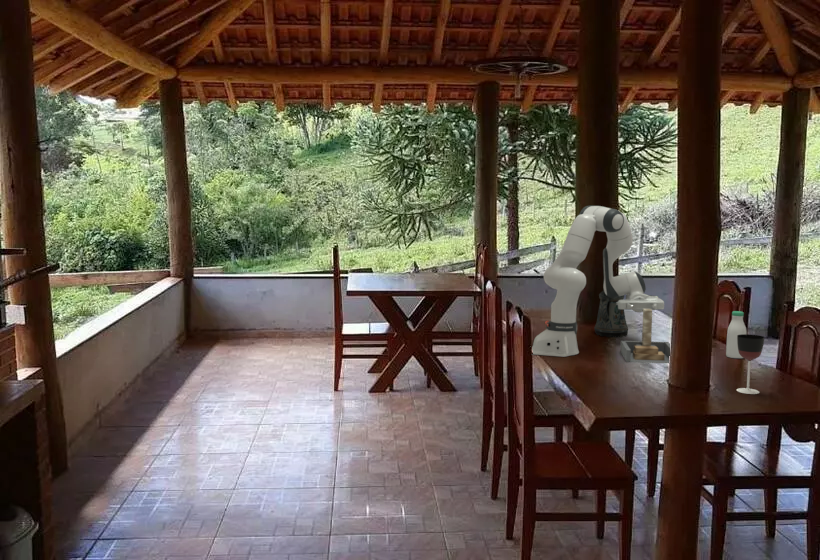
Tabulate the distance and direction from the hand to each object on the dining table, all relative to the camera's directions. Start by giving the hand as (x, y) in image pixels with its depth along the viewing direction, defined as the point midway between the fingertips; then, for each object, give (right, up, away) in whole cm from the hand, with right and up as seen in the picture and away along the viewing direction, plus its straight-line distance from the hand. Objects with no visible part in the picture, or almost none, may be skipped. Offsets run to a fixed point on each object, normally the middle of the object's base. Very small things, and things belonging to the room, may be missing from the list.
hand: (643, 307), depth 312 cm
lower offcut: (-3, -21, -17) cm, 27 cm away
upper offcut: (-4, -19, -17) cm, 25 cm away
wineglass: (+17, -28, -61) cm, 70 cm away
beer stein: (-2, -16, +41) cm, 44 cm away
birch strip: (-2, -20, -11) cm, 23 cm away
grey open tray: (-3, -22, -16) cm, 27 cm away
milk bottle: (+38, -21, -8) cm, 44 cm away
